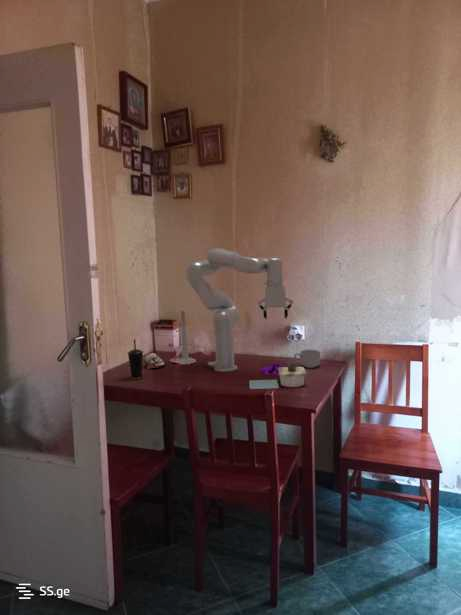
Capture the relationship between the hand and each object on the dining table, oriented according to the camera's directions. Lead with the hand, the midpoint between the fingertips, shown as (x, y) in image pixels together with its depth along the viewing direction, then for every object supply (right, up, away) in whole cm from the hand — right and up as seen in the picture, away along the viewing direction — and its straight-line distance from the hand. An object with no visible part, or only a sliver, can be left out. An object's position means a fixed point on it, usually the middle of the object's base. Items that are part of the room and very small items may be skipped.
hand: (275, 318), depth 226 cm
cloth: (0, -29, +6) cm, 29 cm away
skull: (-64, -28, +29) cm, 75 cm away
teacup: (+18, -26, +17) cm, 36 cm away
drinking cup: (-69, -31, +6) cm, 76 cm away
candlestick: (-47, -26, +35) cm, 64 cm away
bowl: (+6, -30, -14) cm, 34 cm away
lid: (+6, -24, -15) cm, 29 cm away
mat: (-7, -31, -14) cm, 34 cm away
